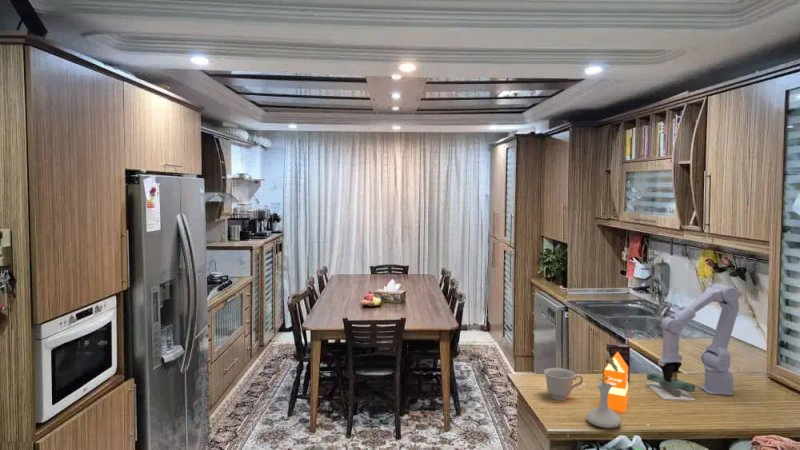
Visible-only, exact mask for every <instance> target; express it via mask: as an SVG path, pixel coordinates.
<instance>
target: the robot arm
mask: <svg viewBox="0 0 800 450" xmlns="http://www.w3.org/2000/svg"><path fill="white" fill-rule="evenodd" d="M739 299H740V292H739V291H738V290H737V288H736V287H735V286H730V285H729V286H728V285H726V284H720V283H717V282H714V283H711V284H710V285H709V286H708V287H706V288H705V291H704V292H703V293H702V294H700V295H699V296H698V297H697V298H696V299H695V300H694V301H693V302H692V303H691V304H688V305H683V306H680V307H679V309H678V310H677V311H675V312H674V313H672V314H670V316H666V317H664V318H663V319H662V320H661V323H660V328H661V329H662V334H663V335H662V338H663V339H662V356H661V358H660V359H658V364H657V365H658V366H659V367H660V369H661V371H662V375H663V376H664V380H665V381H668V382H670V381H671V377H672V372H673V371H674V372H677V373H679V372H678V371H679V370H680V369H681V367H682V366H683V365H682V361H683V355H681V354H680V352H679V351H680V349H679V348H680V333H682V331H683V330H684V327H685V325H687V324H688V323H689V322H690V321H692V320H693V319H694V318H696V313H697V312H699V311H701V310H702V309H703V308H705V307H706V306H707V305H710V303H718V305H720V307H721V311H720V314H719V317H718V321H717V325H716V329H715V331H714V334H713V338H712V342H711V344H710V345H708V346H706V348H705V350H704V351H703V353H702V354H701V358H700V360H701V362H702V364H703V367H704V385H699V388H700V389H702V390H703V391H705V393H707V394H709V395H731V396H734V395H735V394H734V393H733V392H734V391H733V389H734V377H733V374H732V372H731V371H730V370H729V369H730V368H731V354H730V352H729V351H728V348H729V347H728V346H729V344H730V341H731V338H732V333H733V330H734V326H735V323H736V319H737V316H738V313H739V309H740V305H739V304H740V303H739Z"/></svg>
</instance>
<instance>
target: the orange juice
mask: <svg viewBox="0 0 800 450" xmlns="http://www.w3.org/2000/svg"><path fill="white" fill-rule="evenodd" d="M612 359H613V360H614V362H613V363H614V364H615V365H616V366H617V369H618V371H617V372H616V371H615V370H614V369H613V367H612V366H611V364H609V363H608V364H607V366H606V365H605V366H606V368H605V367H604V368H605V370H604V369H603V370H604V375H605V377H604V379H605V378H607V377H608V378H609V379H606V380H604V383H608V384H611V385H612V387H611V389H610V390H609V393H608V406H609V408H610V409H611V410H612V411H617V412H623V413H626V408H627V406H628V395H629V394H628V393H629V383H628V366H627V365H626V363H625V362H624V360H623V359H622V357H621V356H620V354H619V352H617V353H616V354H615V355H614V356H613V358H612Z"/></svg>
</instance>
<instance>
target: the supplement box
mask: <svg viewBox="0 0 800 450" xmlns="http://www.w3.org/2000/svg"><path fill="white" fill-rule="evenodd" d="M630 350H631V346H630V345H628V344H627V343H606V351H607V353H609V354H610V357H611V359H612V358H613V356H614V355H615V354H616V353H617V352H619V354H620V356H621V357H622V359H623V360H624V362H625V363H626V365H627V366H628V384H629V383H630V377H631V376H630V374H631V373H630V372H631V369H630V365H631V364H630V362H631V360H630V358H631V356H630V354H631V351H630ZM605 358H606V357H605ZM605 360H606V364H607V362H608V359H607V358H606V359H605ZM606 364H605V365H606Z"/></svg>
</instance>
